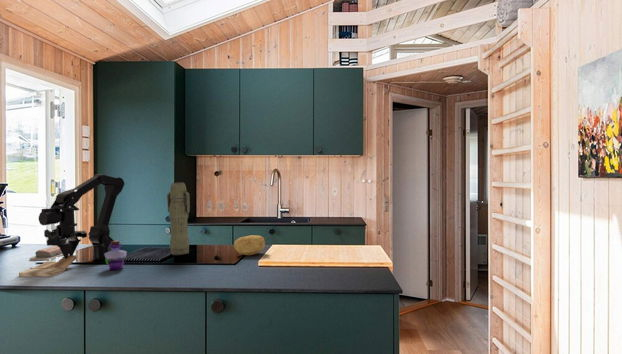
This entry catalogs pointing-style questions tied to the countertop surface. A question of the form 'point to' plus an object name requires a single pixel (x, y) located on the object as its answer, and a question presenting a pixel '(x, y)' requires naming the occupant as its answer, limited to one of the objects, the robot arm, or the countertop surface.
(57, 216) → the robot arm
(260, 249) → the potato
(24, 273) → the pine floorboard strip
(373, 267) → the countertop surface
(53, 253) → the packaged product
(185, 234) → the olive stone statue
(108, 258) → the potion bottle
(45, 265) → the outer oak plank
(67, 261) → the inner oak plank
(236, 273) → the countertop surface
